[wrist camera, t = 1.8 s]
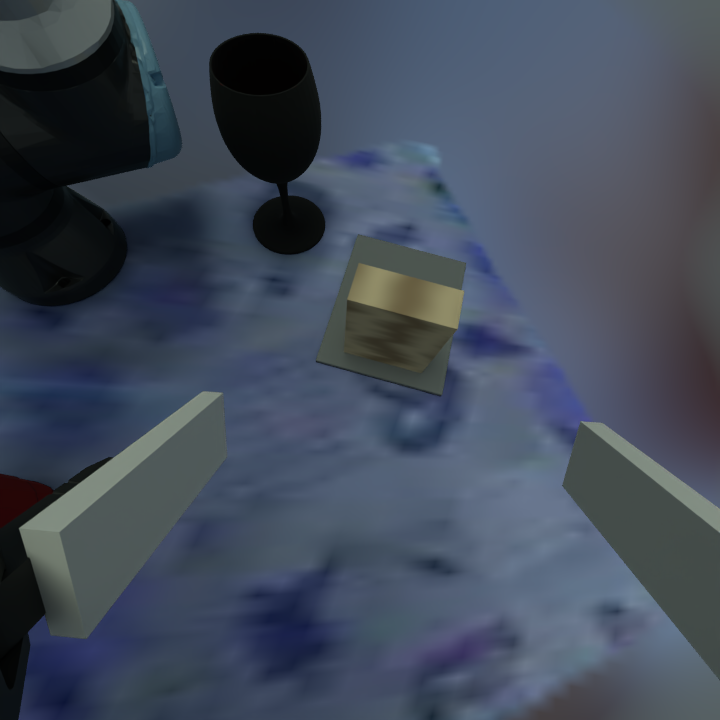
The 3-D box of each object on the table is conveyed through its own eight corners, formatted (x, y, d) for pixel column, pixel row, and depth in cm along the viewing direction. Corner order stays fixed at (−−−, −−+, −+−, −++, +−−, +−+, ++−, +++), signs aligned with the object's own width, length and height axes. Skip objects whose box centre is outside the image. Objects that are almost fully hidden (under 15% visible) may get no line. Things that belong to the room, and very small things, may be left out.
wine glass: (316, 261, 46) (303, 113, 28) (243, 247, 46) (180, 89, 27) (332, 204, 50) (329, 39, 31) (264, 191, 50) (221, 17, 31)
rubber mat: (316, 361, 41) (315, 360, 41) (357, 237, 48) (357, 234, 48) (440, 396, 41) (441, 394, 40) (464, 265, 48) (466, 263, 47)
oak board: (343, 352, 41) (347, 299, 29) (352, 324, 43) (358, 262, 31) (421, 373, 41) (457, 329, 29) (427, 344, 42) (464, 291, 30)
